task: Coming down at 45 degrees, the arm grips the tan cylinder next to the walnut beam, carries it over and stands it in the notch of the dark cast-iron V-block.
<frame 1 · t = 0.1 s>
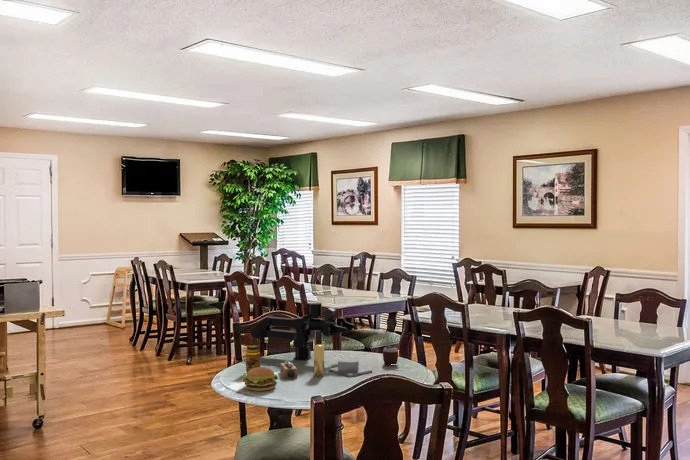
hand: (351, 328, 298), 17 cm above the table, tool horizontal, fingers open, 9 cm apart
mate gourd: (389, 365, 297), on the table
beam: (288, 375, 277), on the table
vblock: (348, 371, 284), on the table
drift: (288, 365, 277), point 4 cm above the table, touching beam
condiment: (253, 373, 280), on the table
food: (259, 388, 257), on the table
tan cylinder: (319, 375, 276), on the table
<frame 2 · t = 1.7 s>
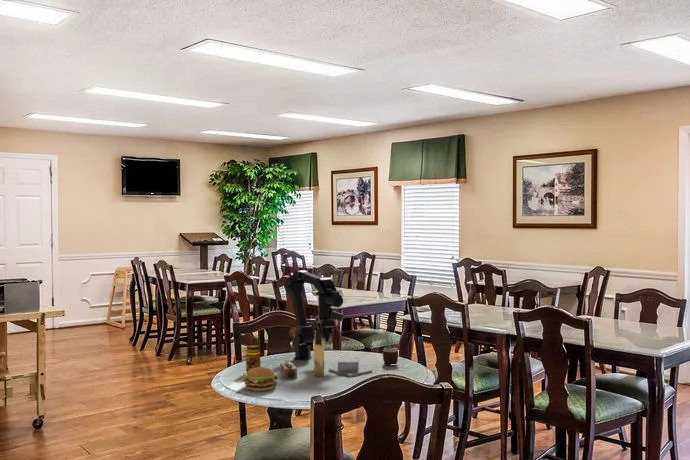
hand: (325, 339, 294), 12 cm above the table, tool pointing down, fingers open, 9 cm apart
nothing on the table moved.
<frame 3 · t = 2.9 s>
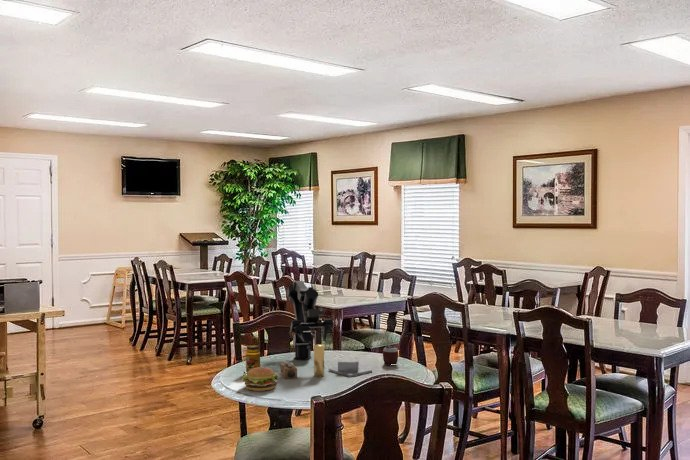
hand: (314, 341, 283), 13 cm above the table, tool tilted 45°, fingers open, 9 cm apart
nothing on the table moved.
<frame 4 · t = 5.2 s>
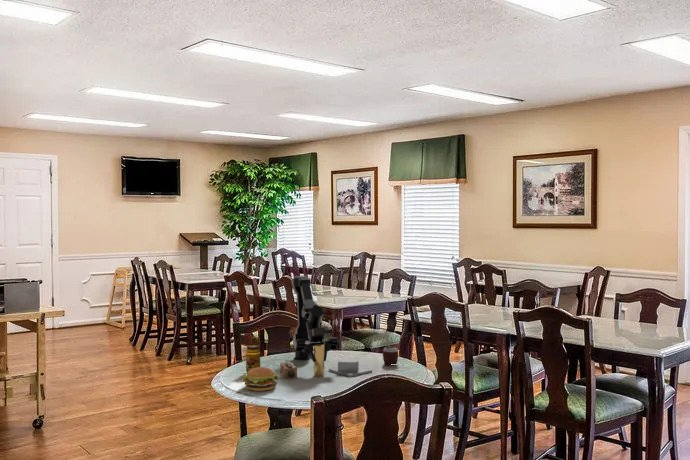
hand: (319, 361, 274), 7 cm above the table, tool tilted 45°, fingers closed on tan cylinder, 4 cm apart
tan cylinder: (319, 375, 276), on the table, touching gripper
everything else where it was.
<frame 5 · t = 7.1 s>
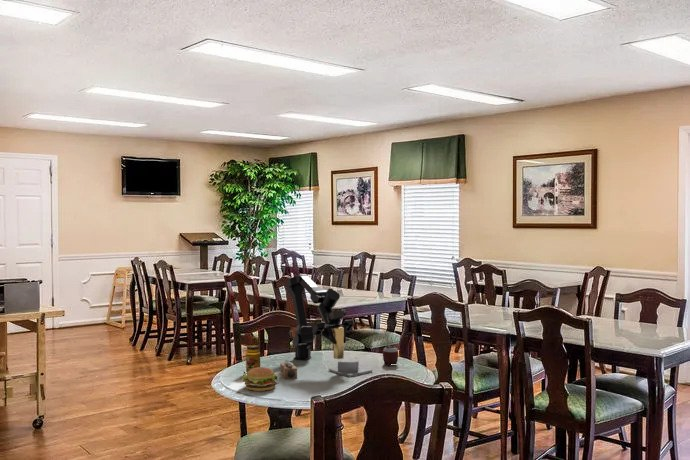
hand: (340, 343, 279), 13 cm above the table, tool tilted 45°, fingers closed on tan cylinder, 4 cm apart
tan cylinder: (338, 357, 280), point 7 cm above the table, touching gripper
everything else where it was.
when the fingers open (8 cm above the table, at t = 8.8 s): tan cylinder stays where it is, resting on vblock.
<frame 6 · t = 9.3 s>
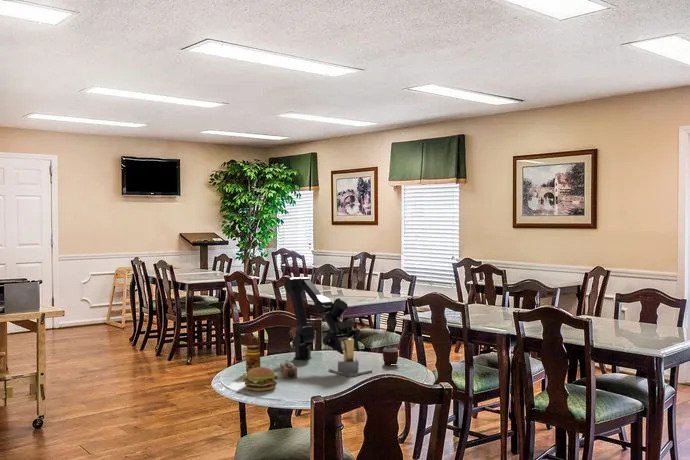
hand: (350, 352, 283), 9 cm above the table, tool tilted 45°, fingers open, 9 cm apart
tan cylinder: (348, 368, 284), point 1 cm above the table, touching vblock
everything else where it was.
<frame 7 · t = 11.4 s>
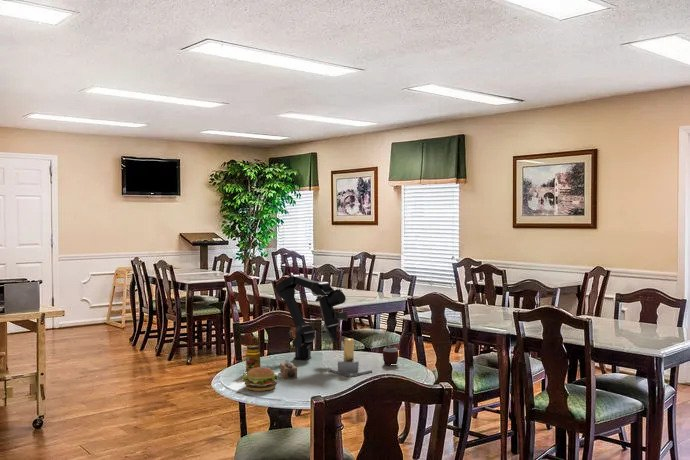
hand: (335, 342, 294), 11 cm above the table, tool tilted 20°, fingers open, 9 cm apart
nothing on the table moved.
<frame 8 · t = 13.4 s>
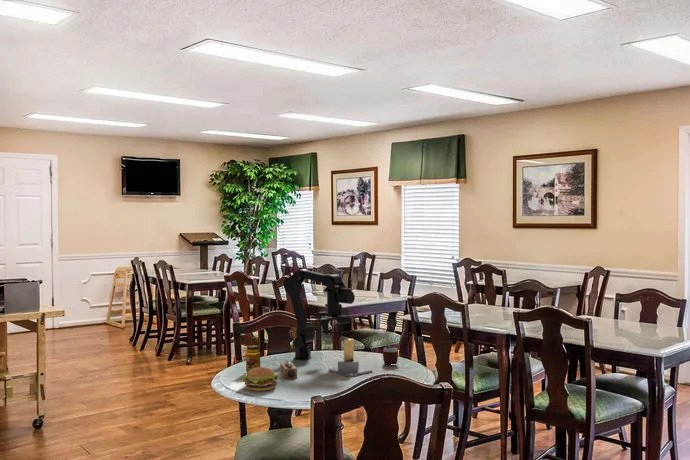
hand: (333, 335, 297), 13 cm above the table, tool pointing down, fingers open, 9 cm apart
nothing on the table moved.
at the end: tan cylinder 0.1 cm from the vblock (horizontally); tan cylinder tilted 0°; the gripper is holding nothing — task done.
